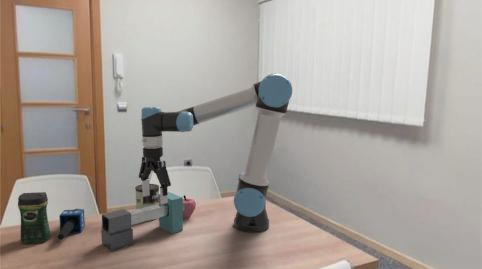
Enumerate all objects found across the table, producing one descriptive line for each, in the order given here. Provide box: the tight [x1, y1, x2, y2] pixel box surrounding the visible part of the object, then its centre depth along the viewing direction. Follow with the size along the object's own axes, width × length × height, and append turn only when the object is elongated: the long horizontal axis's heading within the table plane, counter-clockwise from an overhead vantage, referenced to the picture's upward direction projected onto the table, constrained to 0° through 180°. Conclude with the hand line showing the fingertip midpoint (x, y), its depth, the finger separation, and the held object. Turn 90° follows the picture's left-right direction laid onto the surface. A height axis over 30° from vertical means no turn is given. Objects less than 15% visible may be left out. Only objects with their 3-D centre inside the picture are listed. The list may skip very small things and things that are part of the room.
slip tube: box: [127, 203, 169, 226], centre depth 143 cm, size 4×22×4 cm, turn 134°
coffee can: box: [135, 183, 160, 222], centre depth 163 cm, size 10×10×14 cm
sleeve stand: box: [100, 208, 134, 253], centre depth 135 cm, size 8×8×12 cm
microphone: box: [57, 208, 86, 241], centre depth 145 cm, size 8×8×25 cm
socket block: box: [158, 191, 184, 234], centre depth 151 cm, size 10×5×14 cm, turn 44°
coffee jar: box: [17, 191, 51, 245], centre depth 137 cm, size 10×8×19 cm
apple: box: [182, 194, 197, 220], centre depth 163 cm, size 10×9×10 cm
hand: (154, 199), depth 144 cm, fingers open, 13 cm apart
